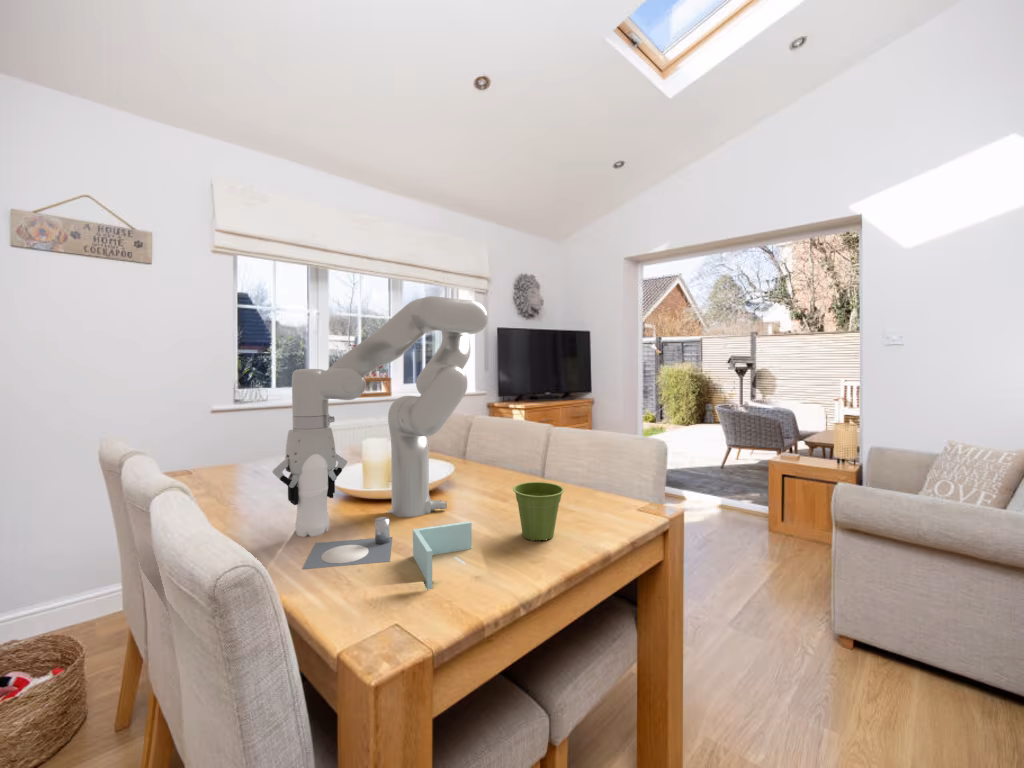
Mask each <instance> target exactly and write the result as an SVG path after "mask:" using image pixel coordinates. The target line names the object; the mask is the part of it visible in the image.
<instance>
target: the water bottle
mask: <svg viewBox="0 0 1024 768" xmlns="http://www.w3.org/2000/svg"><path fill="white" fill-rule="evenodd" d="M327 467H328V464H327V462H326V460H325V459H324V458H323V457H322V456H321V455H319V454H314V455H312V456H310V457H309V458H308V459H307V460H306V461H305V463H304V464H303V467H302V474H301V475H299V479H298V481H297V483H296V487H298V504H297V505H296V508H297V509H296V519H295V524H294V525H295V526H294V529H295V532H296V535H297V536H298V537H302V538H303V537H307V536H309V537H317V536H321V535H323V534H325V533H327V532H328V531H329V530H330V518H329V511H328V497H327V492H328V470H327Z"/></svg>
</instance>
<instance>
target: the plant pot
mask: <svg viewBox="0 0 1024 768" xmlns="http://www.w3.org/2000/svg"><path fill="white" fill-rule="evenodd" d="M512 491H513V492H514V494H515V498H516V502H517V506H518V511H519V519H520V526H521V527H520V528H521V531H522V532H521V534H522V536H523V538H525V539H526V538H527V540H529V539H530V541H532V540H536V541H541V540H546V539H549V540H551V539H553V537H554V534H555V529H556V522H557V516H558V511H559V507H560V506H559V505H560V503H561V499H562V494H563V493H564V492H565V489H564V487H563V486H561V485H560V484H557V483H552V482H546V481H545V482H543V481H529V482H523V483H518V484H516V485H514V486H513V488H512ZM550 538H551V539H550ZM546 541H547V540H546Z"/></svg>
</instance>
